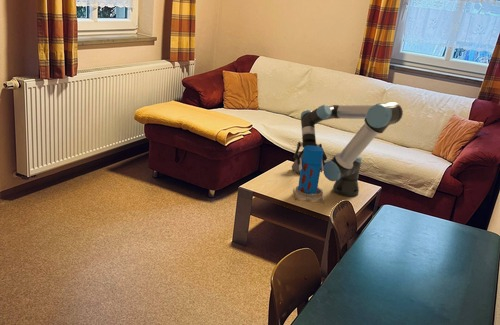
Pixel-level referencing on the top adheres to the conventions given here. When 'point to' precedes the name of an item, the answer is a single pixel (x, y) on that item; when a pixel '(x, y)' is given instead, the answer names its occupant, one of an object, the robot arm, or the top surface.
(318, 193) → the thermos stand
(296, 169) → the coffee pot
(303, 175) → the thermos
